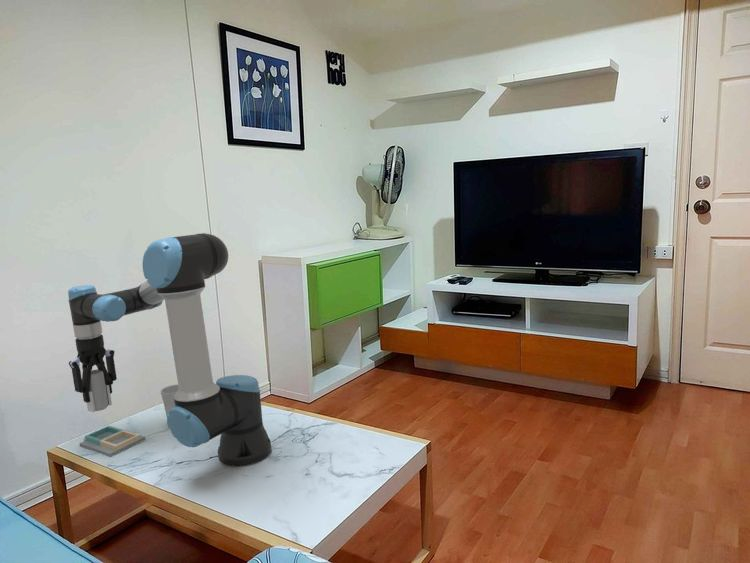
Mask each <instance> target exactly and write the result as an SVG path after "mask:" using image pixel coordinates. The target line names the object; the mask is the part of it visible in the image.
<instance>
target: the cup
mask: <svg viewBox="0 0 750 563" xmlns="http://www.w3.org/2000/svg"><path fill="white" fill-rule="evenodd" d="M178 389H179V387H178V383H177V384H172V385H168V386H165V387H163V388H162V389H160V394H161V399H162V401H163V402H162V403H163V406H164V412H165V416H166V417H167V414H168V412H169V411H170V410H171V408H173V407H175V402H174V395H175V393H176V392H177V391H178Z"/></svg>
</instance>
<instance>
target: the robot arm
mask: <svg viewBox="0 0 750 563" xmlns="http://www.w3.org/2000/svg"><path fill="white" fill-rule="evenodd" d="M228 262H229V250H228V248H227V246H226V244H225V243H224V241H223V240H222V239H220V238H219V237H218V236H216V235H214V234H211V233H206V232H205V233H204V232H202V233H196V234H189V235H188V234H187V235H179V236H169V237H165V238H161V239H156V240H155V241H152V242H150V244H149V245H148V246H147V247H146V249H145V251H144V253H143V256H142V264H141V265H142V272H143V276H144V279H145V281H144V282H143V283H140V285H138V286H135V287H132V288H128V289H124V290H118V291H112V292H110V293H109V292H108V293H103V294H98V291H97V288H96V287H95V286H94V285H92V284H85V285H84V284H83V285H76V286H72V287H70V288H69V289H68V291H67V295H68V304H69V308H70V309H69V310H70V316H71V321H72V328H73V332H74V337H75V346H76V351H77V356H76V358H75V359H73V360H69V361H68V365H69V367H70V369H71V374H72V380H73V385H74V392H77V393H80V394H81V393H82V398H83V402H84V403H86V406H87V408H86V409H87V412H90V413H95V412H96V411H95V406H94V399H93V393H92V391H89V390H90V378H91V371H92V370H93V367H94V366H96V368H97V370H101V371H102V370H103V373H104V380H105V386H106V393H107V399H108V407H109V406H112V405H113V404H112V403H113V402H112V396H111V394H112V393H113V388H112V385H113V384H114V382H115V381H116V380H117V378H118V377H117V372H116V365H115V360H114V358H115V350H113V349H110V348H109V349H106V347H105V341H104V335H103V334H102V333H103V328H102V323H101V321H102V322H108V323H109V322H116V321H119V320H120V319H121V318H123V317H124V316H128V315H132V314H134V313H139V312H143V311H148V310H153V309H156V308H159V307H160V306H161V305H162V304H163V301H164V302H165V308H166V315H167V316H166V317H167V320H168V328H169V335H170V342H171V346H172V348H171V349H172V353H173V359H174V366H175V372H176V379H177V384H178V387H179V389H178V391H177V392H176V393H175V395H174V402H175V407H173V408H171V410H170V411H169V412H168V414H167V416H166V422H167V426H168V429H169V430H170V432H171V434H172V436H173V438H175V439H176V441H178V442H179V443H180V444H181V445H183V446H185V447H187V448H196V447H199V446H201V445H203V444H206V443H208V442H210V441H211V440H213V439H214V438H217V437H218V436H220V438H219V439H220V440H219V446H218V449H217V459H218V461H219V462H220V463H221V464H223V465H224V466H227V467H246V466H250V465H253V464H257V463H259V462H261V461H262V460H265V459H266V458H267V457H268V456H269V455H270V454H271V452H272V450H273V449H272V443H271V439H270V438H269V435H268V433H267V431H266V429H265V426H264V423H263V422H264V421H263V415H262V414H263V413H262V412H263V411H262V400H261V390H260V387H259V386H260V385H259V381H258V379H257V378H256V377H254V376H251V375H245V374H243V375H242V374H236V375H235V374H233V375H226V376H223V377H219V378H218V379H217V380H216V382H214V380H213V374H212V367H211V359H210V352H209V345H208V340H207V339H208V338H207V333H206V325H205V319H204V312H203V311H204V310H203V305H202V297H201V293H202V292H203V291H204V289H205V288H206V283H205V280H207V279H210V278H212V277H214V276H215V275H218V274H220V273H221V272H222V271H224V270H225V268H226V266H227V265H228ZM104 357H105V361H104ZM80 363H81V364H82V365H81V364H80ZM105 365H106V366H105ZM80 366H81V367H80ZM81 369H82V371H81Z"/></svg>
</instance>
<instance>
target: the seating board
mask: <svg viewBox="0 0 750 563" xmlns="http://www.w3.org/2000/svg"><path fill="white" fill-rule="evenodd" d="M146 439H147V437H146V436H145V435H141V434H138V433H135V432H131V431H127V430H124V429H122V428H118V427H115V426H111V425H106V426H104V427H102V428H100V429H98V430H95V431H93V432H91V433H89V434H86V435H84V440H82V441H81V442H79V443H78V444H79V447H81V448H84V449H87V450H90V451H93V452H95V453H98V454H101V455H103V456H106V457H110V458H111V457H114V456H116V455H118V454H120V453H122V452H124V451H126V450H128V449H130V448H132V447H134V446H136V445H138V444H141V443H142V442H144V441H146Z"/></svg>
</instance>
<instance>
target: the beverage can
mask: <svg viewBox="0 0 750 563" xmlns="http://www.w3.org/2000/svg"><path fill="white" fill-rule="evenodd" d="M89 391H92V393H93V399H94V406H95V412H100V411H103V410H106V409H107V408H108V407H109V405H108V399H107V393H106V386H105V380H104V373H103V370H102V371H101V370H98V369H92V370H91V378H90V390H89Z"/></svg>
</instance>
